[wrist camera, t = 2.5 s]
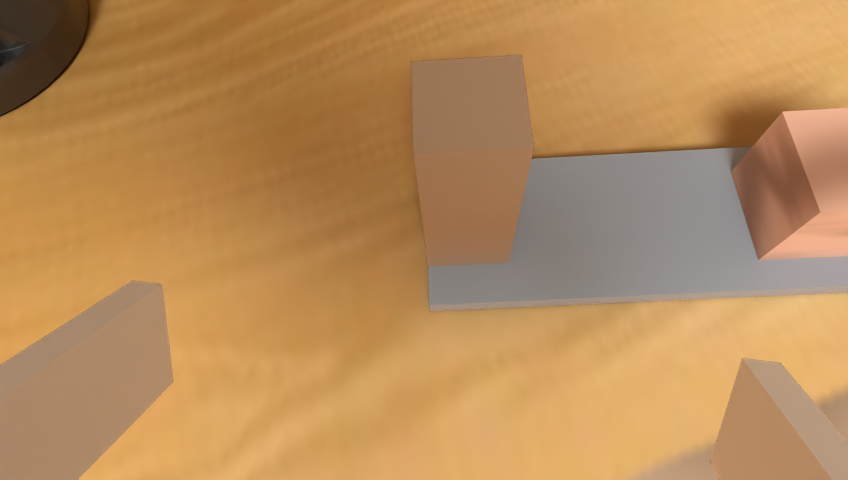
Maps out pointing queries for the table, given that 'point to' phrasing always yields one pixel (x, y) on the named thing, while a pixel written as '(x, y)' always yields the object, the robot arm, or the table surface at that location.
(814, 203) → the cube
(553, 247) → the strip
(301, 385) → the table surface
